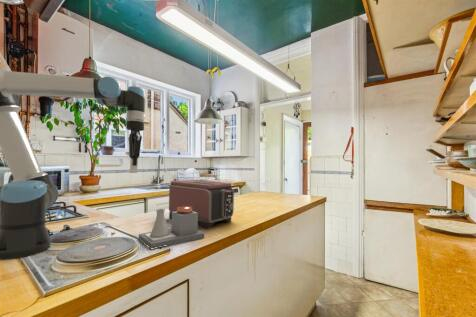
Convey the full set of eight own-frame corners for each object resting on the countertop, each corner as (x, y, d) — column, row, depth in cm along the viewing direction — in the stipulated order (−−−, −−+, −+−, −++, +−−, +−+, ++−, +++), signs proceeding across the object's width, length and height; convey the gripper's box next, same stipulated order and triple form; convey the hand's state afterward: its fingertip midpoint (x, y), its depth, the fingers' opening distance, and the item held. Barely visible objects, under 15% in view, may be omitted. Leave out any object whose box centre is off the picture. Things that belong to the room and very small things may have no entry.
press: (151, 249, 84) (151, 221, 85) (138, 239, 95) (139, 214, 95) (204, 237, 98) (204, 213, 99) (188, 230, 109) (188, 208, 109)
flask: (172, 233, 96) (173, 208, 97) (163, 238, 89) (164, 211, 90) (156, 231, 98) (157, 207, 98) (146, 236, 91) (147, 210, 91)
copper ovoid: (181, 230, 96) (181, 209, 96) (174, 226, 101) (174, 206, 101) (195, 227, 100) (195, 207, 100) (187, 224, 105) (188, 205, 105)
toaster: (216, 231, 108) (217, 186, 108) (166, 219, 129) (167, 181, 130) (240, 223, 124) (241, 183, 124) (192, 213, 145) (193, 179, 145)
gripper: (148, 120, 106) (146, 173, 106) (139, 124, 116) (137, 172, 116) (130, 118, 102) (128, 173, 101) (123, 122, 112) (121, 172, 111)
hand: (133, 172), depth 108 cm, fingers closed
